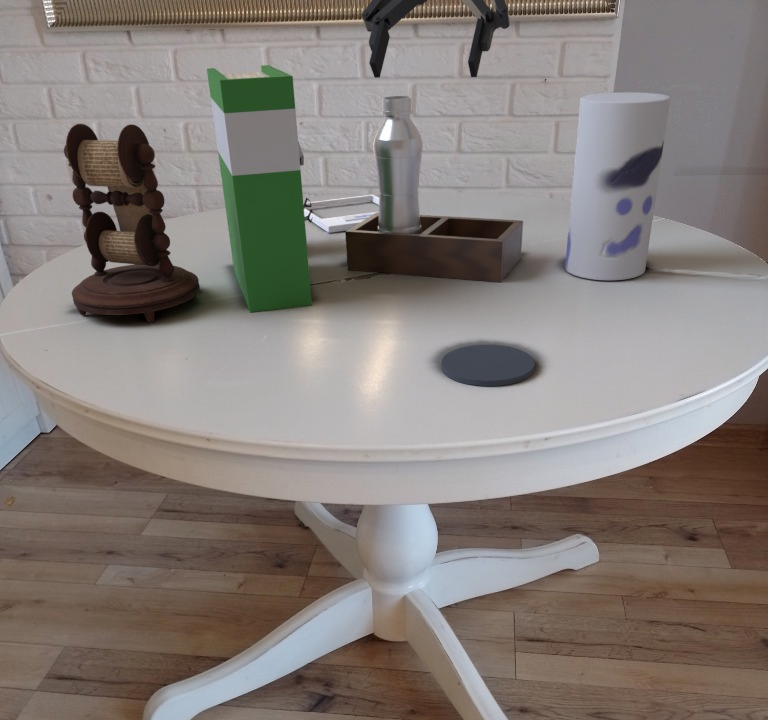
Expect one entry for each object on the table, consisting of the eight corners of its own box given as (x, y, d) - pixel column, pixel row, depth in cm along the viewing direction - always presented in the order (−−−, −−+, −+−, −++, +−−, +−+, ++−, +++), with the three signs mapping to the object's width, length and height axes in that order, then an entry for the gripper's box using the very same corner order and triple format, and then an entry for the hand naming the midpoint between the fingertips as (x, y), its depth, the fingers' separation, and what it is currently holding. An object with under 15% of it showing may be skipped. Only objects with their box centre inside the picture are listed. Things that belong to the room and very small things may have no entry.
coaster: (543, 355, 79) (543, 349, 79) (522, 391, 72) (523, 385, 72) (456, 345, 82) (456, 340, 82) (428, 379, 75) (428, 373, 75)
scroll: (223, 292, 100) (198, 115, 89) (158, 332, 88) (119, 136, 77) (125, 283, 104) (89, 114, 93) (50, 321, 93) (-1, 133, 82)
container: (608, 287, 96) (631, 103, 86) (548, 269, 103) (562, 96, 92) (661, 270, 101) (689, 94, 90) (600, 254, 108) (619, 89, 97)
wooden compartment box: (521, 258, 108) (523, 220, 105) (500, 282, 99) (502, 241, 97) (377, 248, 115) (376, 212, 112) (347, 269, 106) (345, 231, 103)
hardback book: (234, 271, 107) (206, 68, 94) (288, 265, 109) (268, 65, 96) (249, 312, 93) (219, 80, 80) (311, 305, 94) (292, 76, 81)
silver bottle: (373, 268, 106) (366, 101, 95) (380, 254, 112) (374, 95, 101) (421, 268, 105) (420, 100, 95) (425, 254, 111) (425, 94, 100)
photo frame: (328, 225, 122) (293, 202, 136) (328, 232, 123) (294, 209, 137) (414, 213, 126) (373, 193, 140) (415, 221, 127) (373, 199, 141)
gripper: (546, -45, 109) (518, 90, 105) (376, -37, 116) (344, 90, 113) (543, -97, 102) (512, 46, 98) (361, -84, 109) (327, 49, 106)
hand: (422, 70), depth 106 cm, fingers open, 13 cm apart
